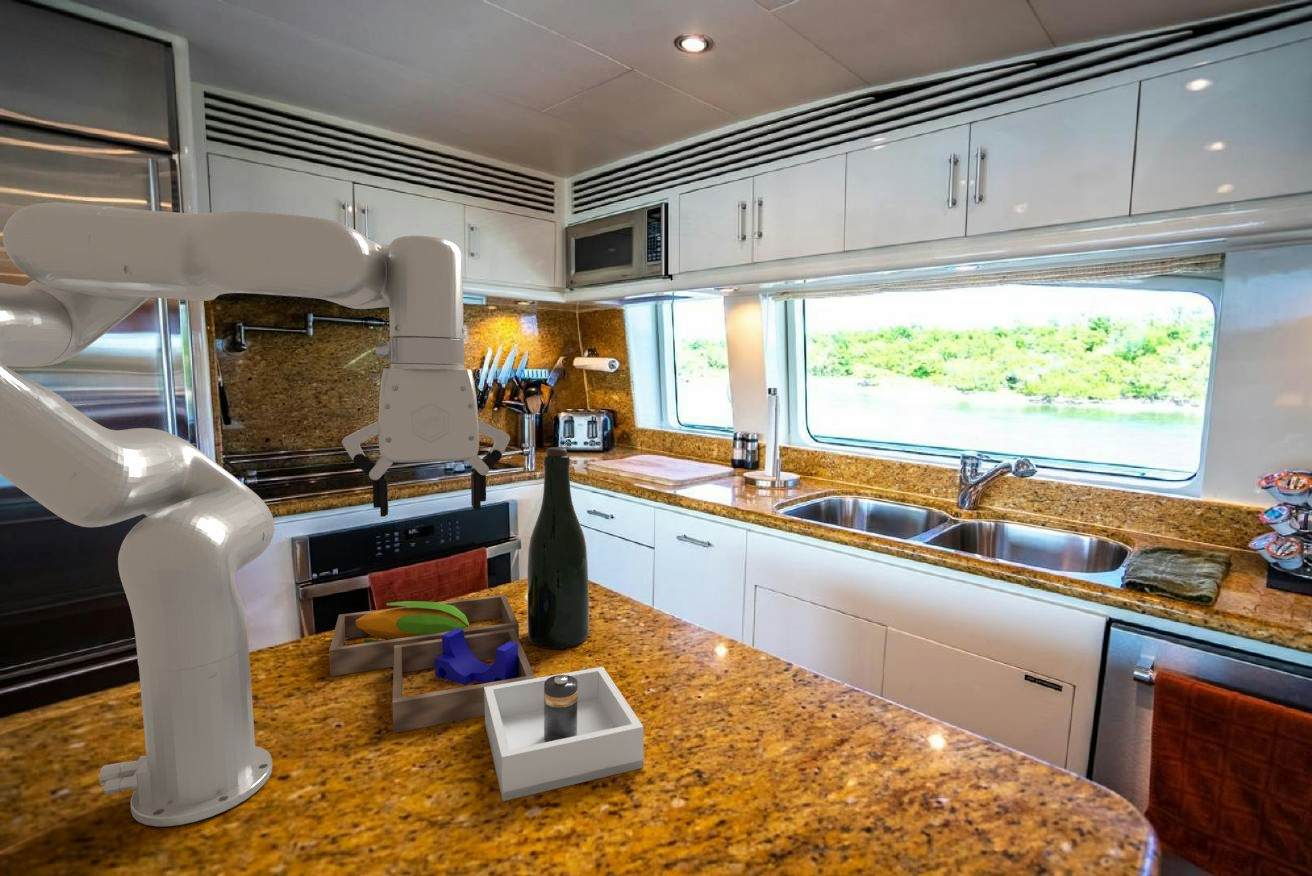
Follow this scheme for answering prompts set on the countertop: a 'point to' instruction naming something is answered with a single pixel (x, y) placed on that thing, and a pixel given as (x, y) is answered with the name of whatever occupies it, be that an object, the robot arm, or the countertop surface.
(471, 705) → the brown hollow square frame
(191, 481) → the robot arm
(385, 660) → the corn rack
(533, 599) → the dark green wine bottle
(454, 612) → the corn
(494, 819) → the countertop surface
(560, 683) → the battery cell
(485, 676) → the cable clip
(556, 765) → the bin
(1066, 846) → the countertop surface
